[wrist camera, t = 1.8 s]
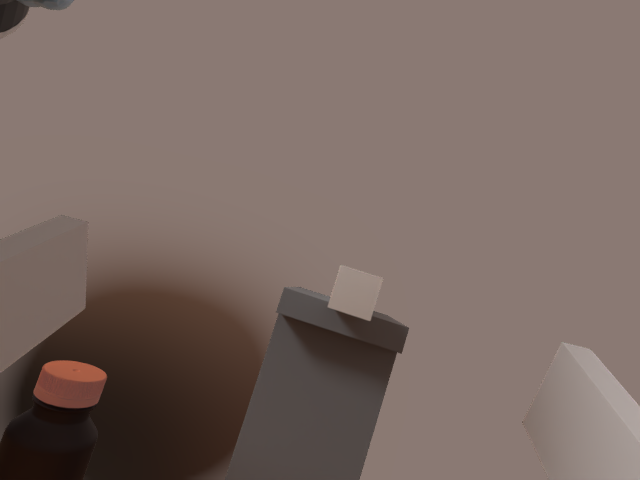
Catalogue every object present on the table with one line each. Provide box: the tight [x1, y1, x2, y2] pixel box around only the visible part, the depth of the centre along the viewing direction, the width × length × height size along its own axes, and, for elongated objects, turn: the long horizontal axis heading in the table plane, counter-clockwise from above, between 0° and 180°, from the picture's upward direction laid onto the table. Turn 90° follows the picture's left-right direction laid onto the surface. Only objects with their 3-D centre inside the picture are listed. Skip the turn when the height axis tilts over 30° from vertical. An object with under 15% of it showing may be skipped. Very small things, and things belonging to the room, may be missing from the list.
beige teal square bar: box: [327, 265, 383, 321], centre depth 35 cm, size 21×3×3 cm, turn 178°
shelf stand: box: [225, 287, 409, 480], centre depth 38 cm, size 14×13×32 cm
